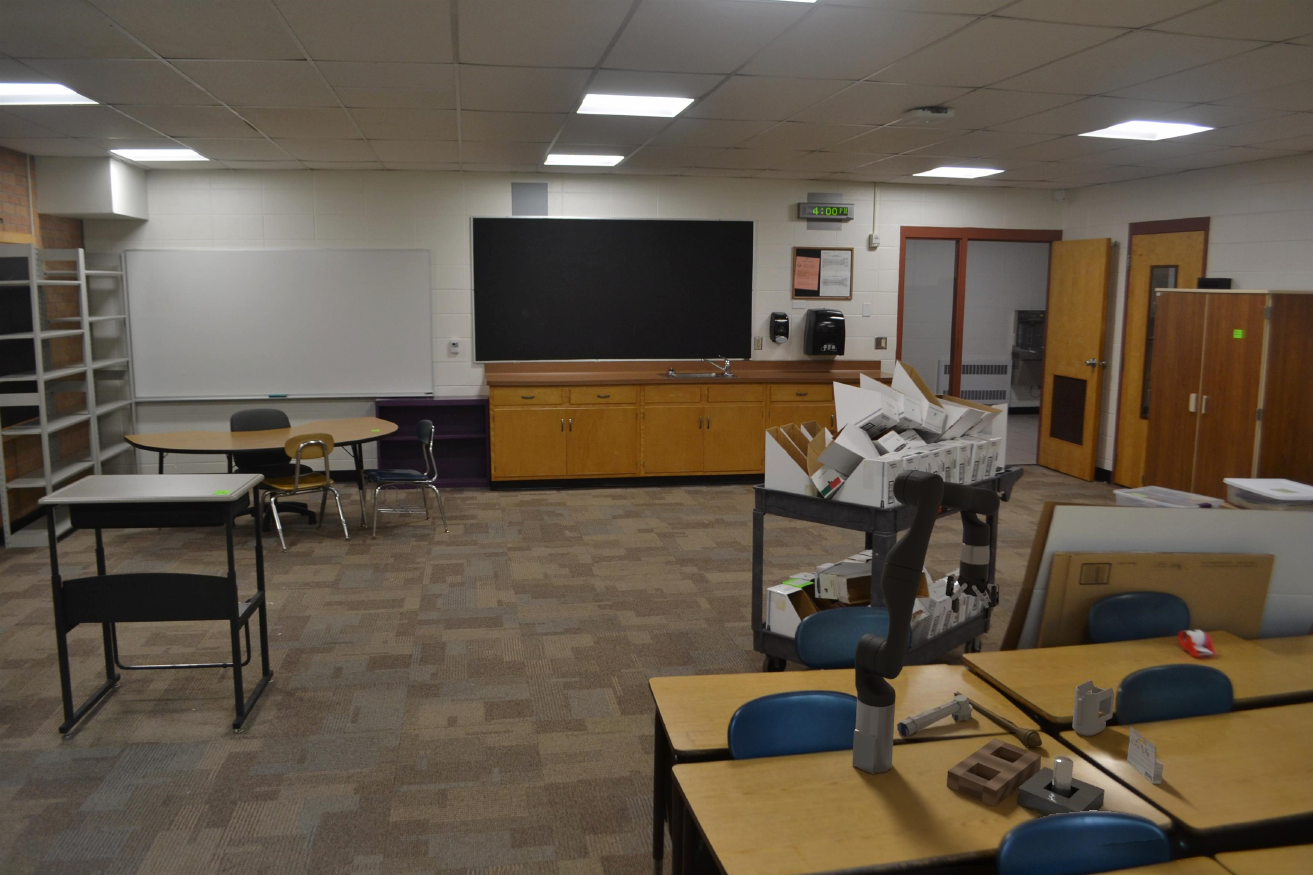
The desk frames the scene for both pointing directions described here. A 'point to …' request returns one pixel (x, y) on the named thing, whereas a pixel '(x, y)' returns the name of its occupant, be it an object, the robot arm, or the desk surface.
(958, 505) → the robot arm
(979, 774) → the rack
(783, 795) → the desk surface
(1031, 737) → the brown knobbed rod
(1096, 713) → the cable organizer
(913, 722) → the grey piece
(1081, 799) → the socket block
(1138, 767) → the ink cartridge box
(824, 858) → the desk surface
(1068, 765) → the grey tall bar
